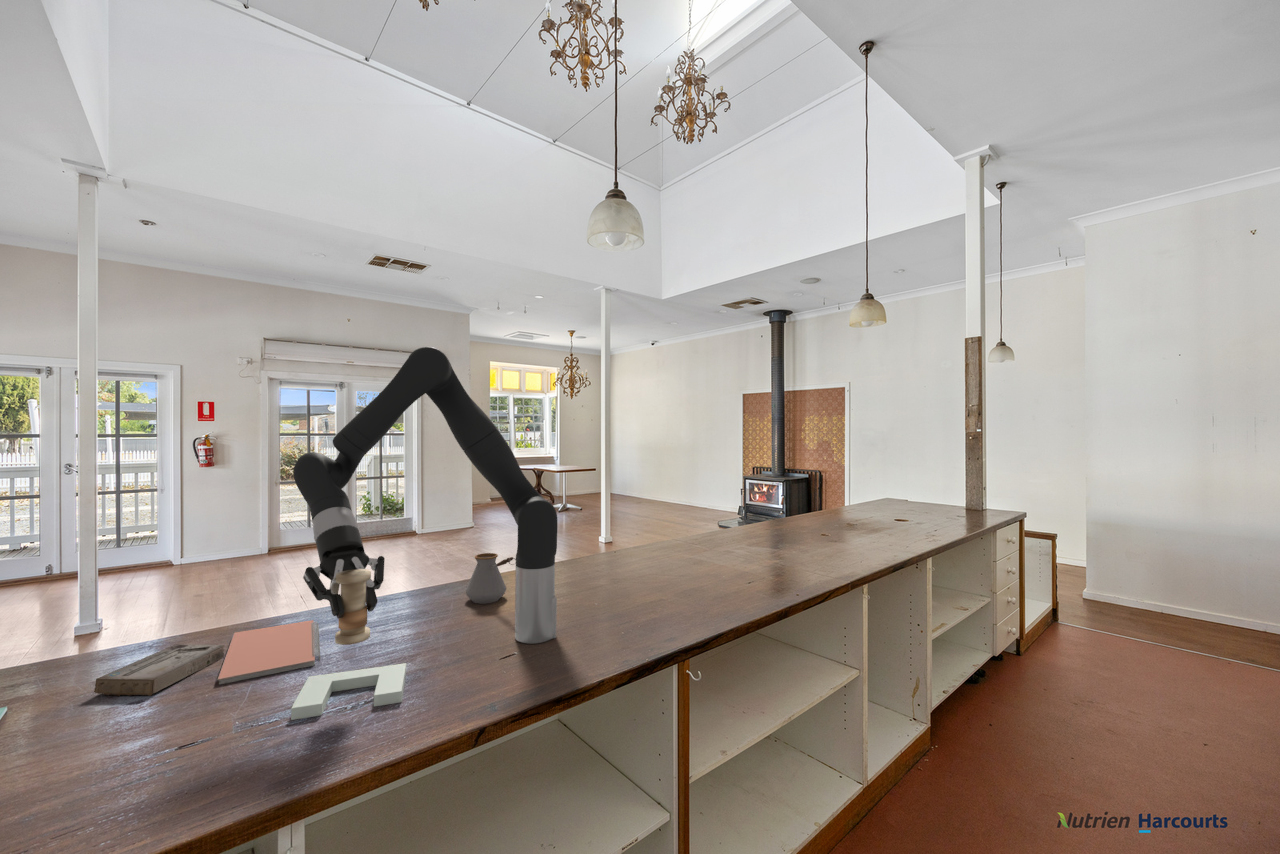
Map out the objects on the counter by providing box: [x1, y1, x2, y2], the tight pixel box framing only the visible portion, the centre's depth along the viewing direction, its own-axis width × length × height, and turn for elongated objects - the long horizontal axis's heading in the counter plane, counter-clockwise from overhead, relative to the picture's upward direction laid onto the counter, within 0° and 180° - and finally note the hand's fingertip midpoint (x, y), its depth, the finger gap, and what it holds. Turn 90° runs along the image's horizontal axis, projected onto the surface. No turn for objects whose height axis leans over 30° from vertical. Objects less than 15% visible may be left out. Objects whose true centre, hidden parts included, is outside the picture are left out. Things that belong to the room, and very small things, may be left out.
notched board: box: [290, 662, 407, 721], centre depth 96 cm, size 17×12×2 cm
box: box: [93, 643, 225, 697], centre depth 103 cm, size 11×17×3 cm, turn 2°
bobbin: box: [334, 568, 372, 646], centre depth 95 cm, size 6×6×12 cm
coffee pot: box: [465, 552, 516, 605], centre depth 147 cm, size 21×12×15 cm, turn 43°
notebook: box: [217, 619, 321, 685], centre depth 115 cm, size 27×17×2 cm, turn 33°
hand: (356, 612), depth 93 cm, fingers closed on bobbin, 4 cm apart
